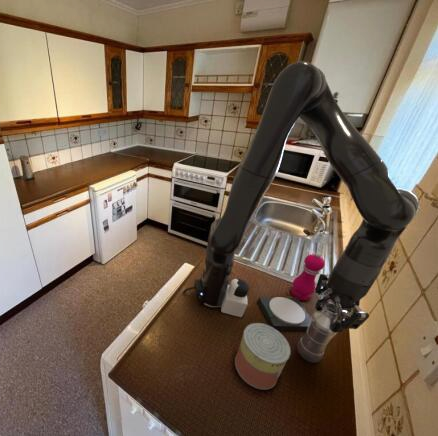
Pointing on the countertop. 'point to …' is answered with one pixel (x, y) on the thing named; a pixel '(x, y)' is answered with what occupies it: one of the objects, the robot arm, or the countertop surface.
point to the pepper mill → (307, 277)
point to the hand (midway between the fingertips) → (326, 319)
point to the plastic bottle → (318, 334)
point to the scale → (284, 313)
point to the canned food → (261, 355)
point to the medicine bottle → (235, 298)
